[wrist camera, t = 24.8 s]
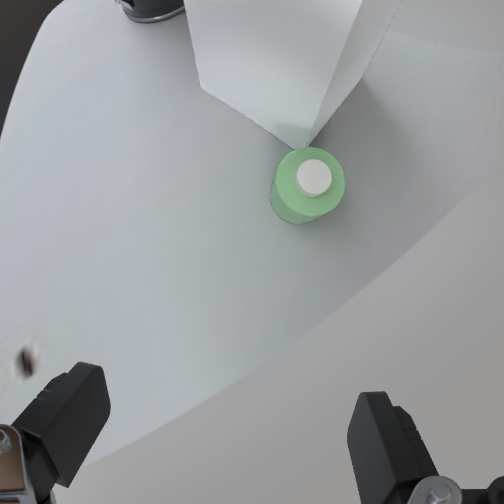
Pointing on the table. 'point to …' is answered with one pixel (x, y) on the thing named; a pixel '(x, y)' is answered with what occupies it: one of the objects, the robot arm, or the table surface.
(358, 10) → the milk
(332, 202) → the soap bottle
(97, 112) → the table surface
